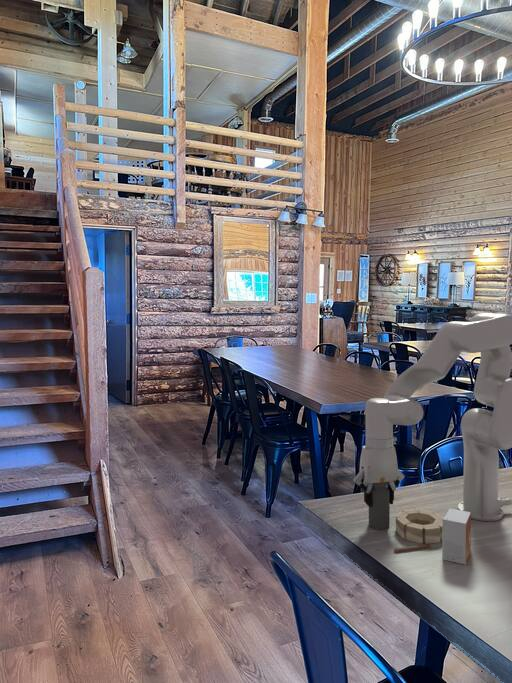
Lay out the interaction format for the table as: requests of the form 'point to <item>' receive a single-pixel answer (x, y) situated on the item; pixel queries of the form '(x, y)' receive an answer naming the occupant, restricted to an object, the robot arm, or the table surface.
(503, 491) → the table surface
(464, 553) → the small box
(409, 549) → the brown wooden stick
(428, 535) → the segmented wooden ring
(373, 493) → the bottle
